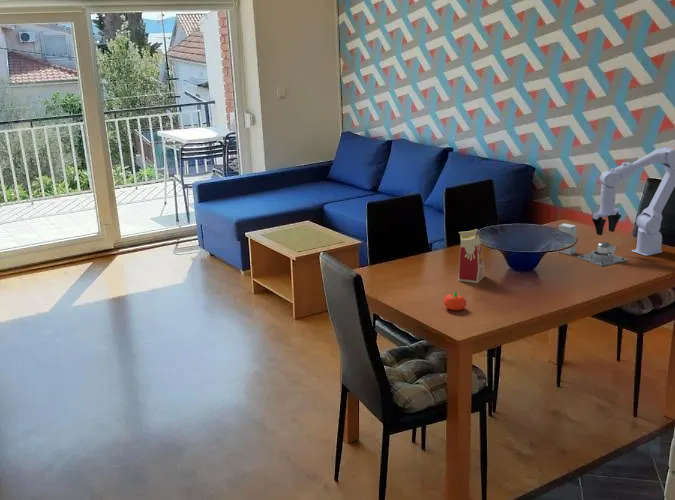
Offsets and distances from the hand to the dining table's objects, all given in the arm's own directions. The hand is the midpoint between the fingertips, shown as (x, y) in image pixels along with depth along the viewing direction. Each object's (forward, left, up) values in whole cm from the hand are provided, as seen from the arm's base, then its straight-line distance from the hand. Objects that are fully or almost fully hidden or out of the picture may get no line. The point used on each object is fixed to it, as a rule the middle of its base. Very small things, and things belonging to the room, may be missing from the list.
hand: (605, 233), depth 293 cm
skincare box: (+11, -10, -10) cm, 18 cm away
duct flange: (+5, +4, -9) cm, 11 cm away
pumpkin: (+87, +18, -10) cm, 89 cm away
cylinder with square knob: (+5, +4, -9) cm, 11 cm away
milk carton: (+64, -5, -10) cm, 65 cm away
